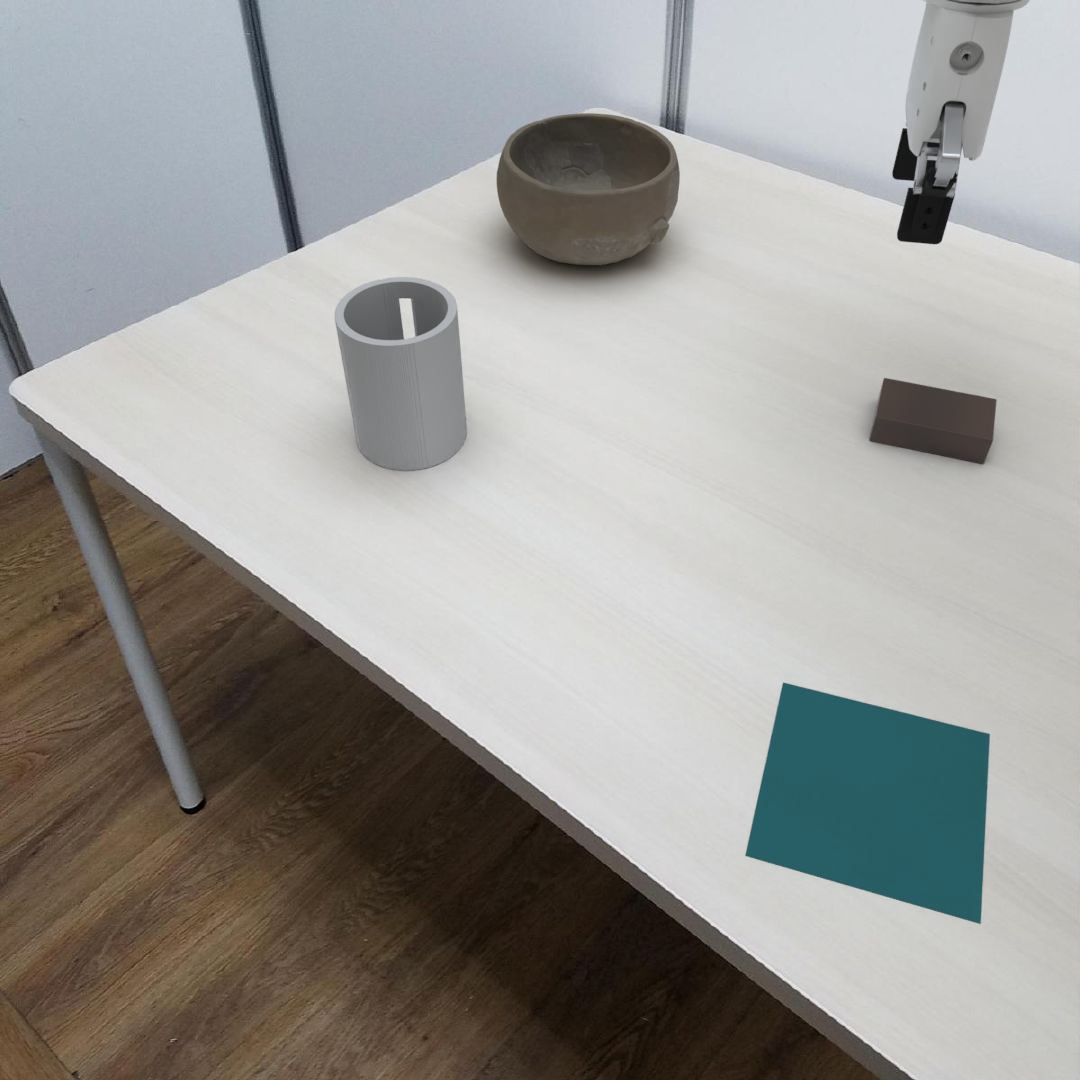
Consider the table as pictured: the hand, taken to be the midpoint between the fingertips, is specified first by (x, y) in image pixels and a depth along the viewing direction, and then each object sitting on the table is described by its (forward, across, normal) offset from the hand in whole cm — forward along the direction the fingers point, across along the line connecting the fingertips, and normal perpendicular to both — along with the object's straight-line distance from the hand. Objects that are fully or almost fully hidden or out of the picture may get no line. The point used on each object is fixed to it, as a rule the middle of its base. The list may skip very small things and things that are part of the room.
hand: (914, 208), depth 83 cm
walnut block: (+15, -8, -4) cm, 18 cm away
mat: (+16, -43, +1) cm, 46 cm away
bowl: (+16, +17, +28) cm, 37 cm away
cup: (+16, -16, +38) cm, 44 cm away
